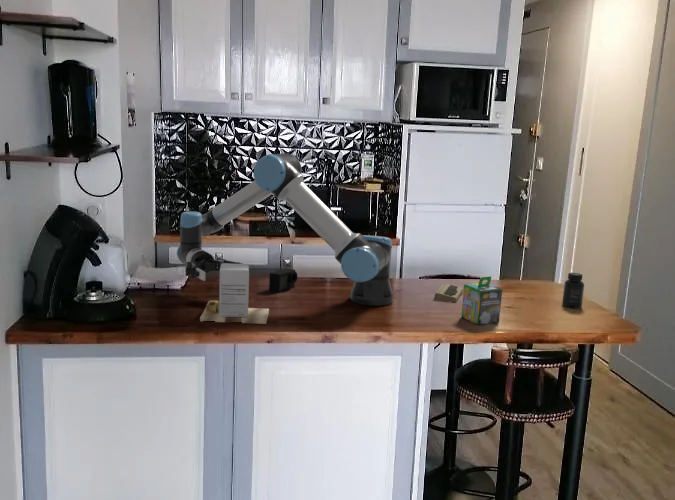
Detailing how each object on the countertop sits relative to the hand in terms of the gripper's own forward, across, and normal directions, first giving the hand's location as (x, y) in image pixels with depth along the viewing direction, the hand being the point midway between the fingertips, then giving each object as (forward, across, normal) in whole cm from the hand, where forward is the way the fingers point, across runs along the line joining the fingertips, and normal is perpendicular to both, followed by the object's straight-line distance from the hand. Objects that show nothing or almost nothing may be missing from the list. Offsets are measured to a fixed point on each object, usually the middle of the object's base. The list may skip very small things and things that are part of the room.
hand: (224, 274), depth 209 cm
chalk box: (+44, -71, -12) cm, 84 cm away
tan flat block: (+17, -82, -12) cm, 85 cm away
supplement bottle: (+46, -116, -11) cm, 125 cm away
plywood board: (+9, 0, -11) cm, 15 cm away
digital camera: (-14, -29, -12) cm, 34 cm away
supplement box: (+9, 0, -10) cm, 14 cm away
